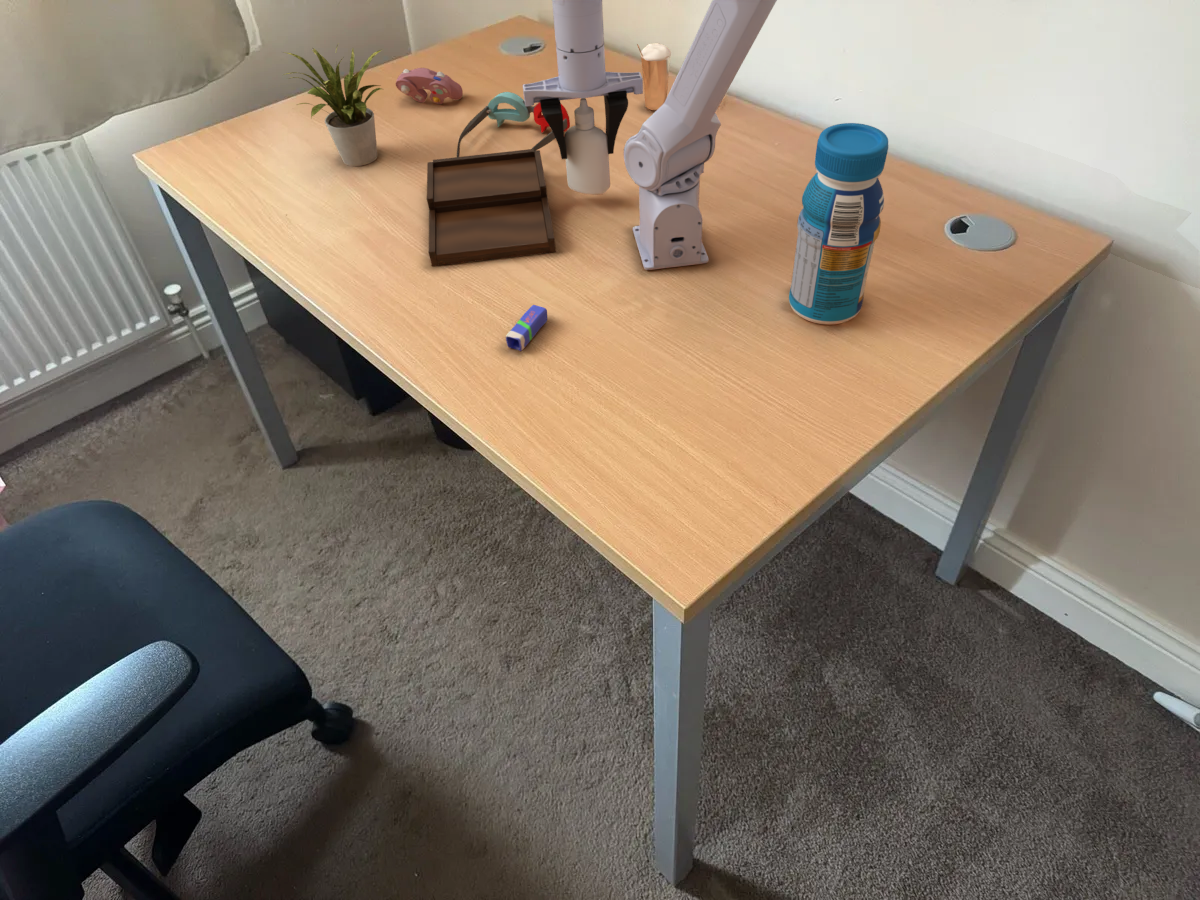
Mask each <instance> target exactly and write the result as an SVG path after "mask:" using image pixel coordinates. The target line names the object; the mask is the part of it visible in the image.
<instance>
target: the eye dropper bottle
mask: <svg viewBox="0 0 1200 900" xmlns="http://www.w3.org/2000/svg"><path fill="white" fill-rule="evenodd" d="M579 99H580V101H579V107H576V108H575V109H574V113H573V114H574V125H573V126H570V128H568V129H567V130H566V131H564V140H565V145H566V151H567V159H565V169H566V180H567V181H566V182H567V186H568V188H569V189H570V190H572V191H574V192H576V193H579V194H584V195H591V196H601V195H604V194H605V193H606V192H607V191H608V190H609V189H610V187H611V175H610V174H611V172H610V154H608V138H607V135H606V131H604V130H602V129H601V128H599V127H597V126H596V125H595V124H596V123H595V110H594V108H593V107H591V106H589V105H588V101H587V98H579Z"/></svg>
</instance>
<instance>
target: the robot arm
mask: <svg viewBox="0 0 1200 900" xmlns="http://www.w3.org/2000/svg"><path fill="white" fill-rule="evenodd" d="M777 1H778V0H711V2H710V3H709V4H710V5H709V6H708V9H707V10H706V13H705V15H704V16H703V17H704V18H703V20H702V22H701V23H700V26H699V28H698V30H697V32H696V34H695V36H694V38H693V41H692V42H691V45H690V47H689V48H688V52H687V53H686V56H685V58H684V60H683V61H682V64H681V65H680V66H681V67H680V68H679V70H678V73H677V74H676V77H675V79H674V81H673V83H672V85H671V88H670V90H669V92H668V93H667V98H666V100H665V102H664V104H663V105H662V106H661V107H660V108H659V109H658V110H654V112H653V113H652V114H651V115H650V116H649V117H648V118H647V119H646V120H644V121H643V123H642V124H641V126H640V129H639V130H638V132H637V133H636V134H634V135H631V136H630V137H629V138H628V139H627V140H626V141H625V144H624V148H623V161H624V167H625V169H626V171H627V174H628V176H629V177H630V178H631V180H632V181H633V182H634V184H635V185H637V186H638V197H639V199H638V200H639V201H638V203H639V204H638V206H639V212H638V213H639V225H635V226H632V233H633V236H634V237H633V238H634V239H635V243H636V246H637V249H638V253H639V256H640V257H639V258H640V259H641V263H642V268H643V269H644V270H645V271H652V270H660V269H668V268H677V267H687V266H694V265H702V264H708V263H709V256H708V253H707V250H706V248H705V245H704V243H703V215H702V212H701V210H700V207H699V206H700V185H701V184H700V183H701V175H702V174H704V173H705V163H707V162H708V161H710V159H711V158H712V157H713V155H714V152H715V149H716V140H717V139H716V138H717V135H718V131H719V129H720V128H721V126H722V122H721V121H720V119H719V116H718V115H717V113H716V112H717V110H718V109H719V107H720V105H721V103H722V101H723V100H724V98H725V96H726V94H727V92H728V90H730V89H729V88H730V86H731V85H732V84H733V81H734V79H735V78H736V76H737V74H738V72H739V71H740V68H741V66H742V65H743V63H744V62H745V60H746V57H747V55H748V54H749V52H750V50H751V49H752V47H753V45H754V43H755V41H756V39H757V38H758V36H759V34H760V32H761V30H762V28H763V27H764V24H765V23H766V21H767V19H768V17H769V15H770V13H771V12H772V10H773V8H774V6H775V4H776V3H777ZM551 3H552V4H551V5H552V6H551V7H552V15H553V28H554V39H555V51H556V63H557V74H558V75H557V76H555V77H550V78H547V79H542V80H539V81H535V82H530V83H524V84H522V92H523V100H524V101H525V106H535V104H538V103H540V105H541V110H542V114H541V115H543V116H544V118H545V120H546V121H547V123H548V124H549V126H550V127H549V128H550V130H551V132H553V134H554V136H555V140H556V142H557V145H558V148H559V153H560V158H561V160H566V159H567V151H566V145H565V140H564V135H565V131H564V129H563V114H562V109H561V104H562V103H561V101H566V100H568V101H569V100H576V99H581V98H586V99H589V98H596V97H603V103H604V114H605V134H606V135H607V138H608V154H609V155H612V154H614V150H615V143H616V139H617V134H618V131H619V128H620V126H621V123H622V121H623V118H624V116H625V114H626V113H627V111H628V108H629V99H628V94H633V95H643V94H644V81H643V75H642V73H641V72H640V71H636V72H635V71H633V72H632V71H631V72H624V71H623V72H620V71H606V52H605V51H606V50H605V33H604V32H605V31H604V10H603V9H604V8H603V6H604V5H603V0H551Z"/></svg>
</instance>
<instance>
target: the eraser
mask: <svg viewBox="0 0 1200 900" xmlns="http://www.w3.org/2000/svg"><path fill="white" fill-rule="evenodd" d="M547 321H548V310H547V309H546V308H545V306H539V305H536V304H533V305H531V306H530V307H529V308H528V309H527V311H525V312H524V313H523V315H522V316H521V317H520V318H519V320H518V321H517V322H516V323H515V324H514V326H513V327H512V328H511V329H510V330H509V331H508V332H507V334H506V335H505V341H506V346H507V348H509V349H514V350H517V351H520V352H522V351H523V350H524V349H525V348H526V347H527V345H529V344H530V342H531V341H532V340H533V338H534V337H535V336H536V335H537V333H538V332H539V331H540V330H541V328H542V327H543V326H544V325H545V324H546V323H547Z"/></svg>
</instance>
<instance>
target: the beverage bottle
mask: <svg viewBox="0 0 1200 900" xmlns="http://www.w3.org/2000/svg"><path fill="white" fill-rule="evenodd" d="M816 142H817V143H816V148H815V149H816V150H815V158H814V167H815V168H814V169H815V171H816V172H815V174H814V175H813V176H812V178H811V179H810V180H809V181H808V183H807V185H806V186H805V188H804V191H803V193H802V197H801V205H802V207H803V208H802V209H801V210H800V211H799V214H798V217H797V218H798V219H797V225H796V227H797V237H796V246H795V253H794V262H793V270H792V277H791V282H790V283H791V284H790V287H789V293H788V303H789V306H790V308H791V310H792V311H793V312H794V313H795V314H796V315H797V316H799V317H800V318H801V319H803V320H806V321H808V322H810V323H815V324H819V325H838V324H842V323H847V322H848V321H850V320H853V319H854V318H855V317H856V316H858V314H859V313H860V311H861V310H862V307H863V303H864V295H865V288H866V283H867V278H868V274H869V269H870V265H871V261H872V256H873V252H874V247H875V244H876V243H875V242H876V241H877V240H878V237H879V236H880V232H881V225H882V223H881V216H880V214H881V213H882V212H883V209H884V206H885V196H884V190H883V186H882V184H881V181H880V179H879V178H880V176H881V175H882V173H883V171H884V169H885V164H886V161H887V155H888V151H889V138H888V136H887V135H886V133H885V132H884V131H882V130H881V129H879V128H877V127H875V126H872V125H869V124H865V123H859V122H858V123H857V122H843V123H837V124H833V125H831V126H827V127H826V128H825V129H823V130H822V132H820V134H819V136H818V139H817V141H816Z"/></svg>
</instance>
